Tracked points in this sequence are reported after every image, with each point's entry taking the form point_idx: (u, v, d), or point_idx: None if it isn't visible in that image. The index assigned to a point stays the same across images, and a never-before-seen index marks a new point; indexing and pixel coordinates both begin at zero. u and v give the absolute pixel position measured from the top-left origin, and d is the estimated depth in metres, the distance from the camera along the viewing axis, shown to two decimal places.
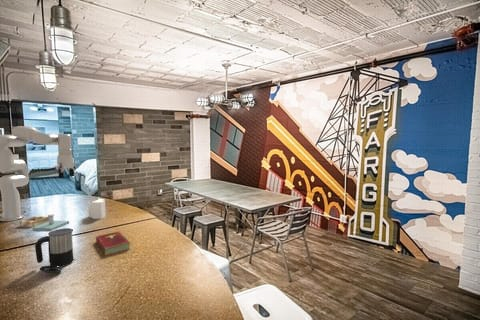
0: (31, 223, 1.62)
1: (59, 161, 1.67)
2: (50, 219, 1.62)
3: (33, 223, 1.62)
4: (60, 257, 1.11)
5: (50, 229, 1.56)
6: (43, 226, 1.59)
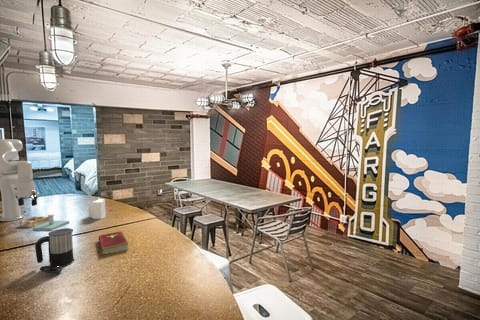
0: (31, 223, 1.62)
1: (32, 188, 1.65)
2: (50, 219, 1.62)
3: (33, 223, 1.62)
4: (60, 257, 1.11)
5: (50, 229, 1.56)
6: (43, 226, 1.59)
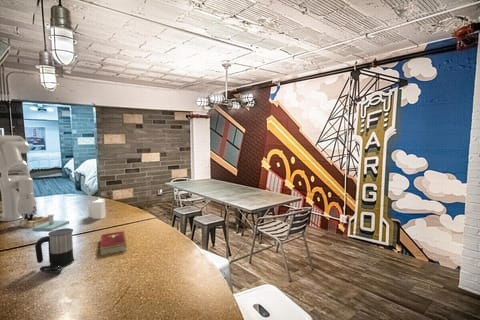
0: (31, 223, 1.62)
1: (33, 205, 1.66)
2: (50, 219, 1.62)
3: (33, 223, 1.62)
4: (60, 257, 1.10)
5: (50, 229, 1.56)
6: (43, 226, 1.59)
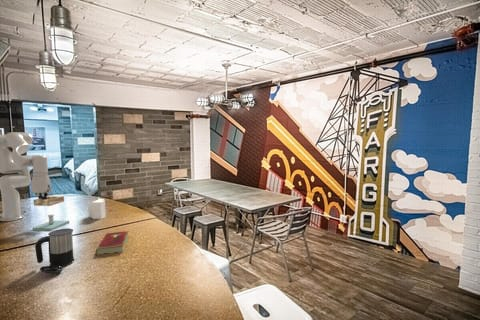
0: (46, 202, 1.56)
1: (47, 183, 1.61)
2: (50, 219, 1.62)
3: (48, 201, 1.56)
4: (60, 258, 1.10)
5: (50, 229, 1.56)
6: (43, 226, 1.59)
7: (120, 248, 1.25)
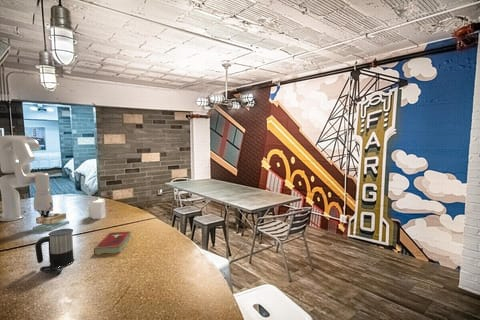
0: (48, 220, 1.57)
1: (50, 201, 1.62)
2: None
3: (50, 220, 1.57)
4: (60, 258, 1.10)
5: (50, 229, 1.56)
6: (43, 226, 1.59)
7: (117, 249, 1.24)
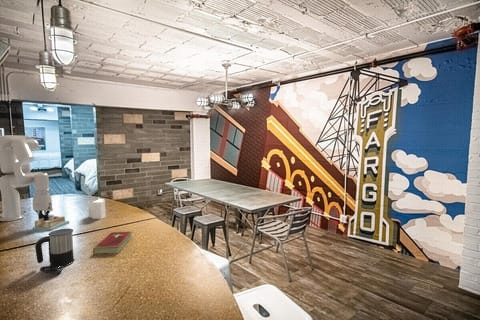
0: (47, 223, 1.57)
1: (49, 201, 1.62)
2: (50, 219, 1.62)
3: (49, 223, 1.57)
4: (60, 258, 1.10)
5: (50, 229, 1.56)
6: None
7: (116, 249, 1.24)
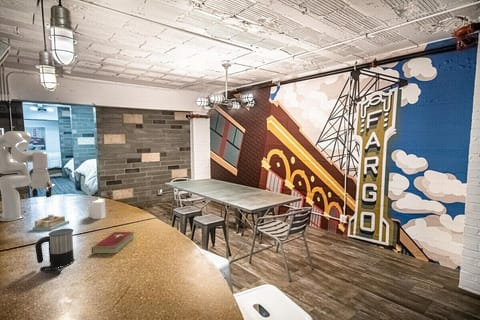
0: (47, 223, 1.57)
1: (47, 180, 1.62)
2: (50, 219, 1.62)
3: (49, 223, 1.57)
4: (60, 258, 1.10)
5: (50, 229, 1.56)
6: None
7: (113, 250, 1.23)
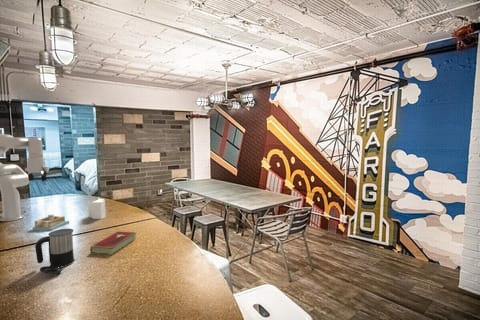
0: (47, 223, 1.57)
1: (42, 164, 1.71)
2: (50, 219, 1.62)
3: (49, 223, 1.57)
4: (60, 258, 1.10)
5: (50, 229, 1.56)
6: None
7: (110, 250, 1.23)
